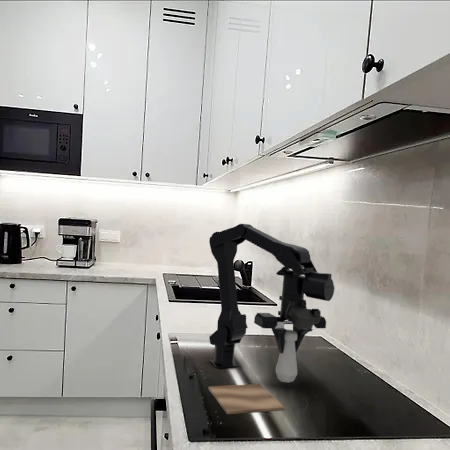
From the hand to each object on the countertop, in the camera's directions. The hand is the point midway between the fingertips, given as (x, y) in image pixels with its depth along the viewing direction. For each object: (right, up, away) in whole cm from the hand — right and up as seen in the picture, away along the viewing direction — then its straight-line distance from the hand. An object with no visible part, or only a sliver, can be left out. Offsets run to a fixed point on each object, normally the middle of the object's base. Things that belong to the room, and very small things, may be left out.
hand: (287, 353), depth 111 cm
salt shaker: (-1, -7, 0) cm, 7 cm away
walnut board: (-12, -8, -10) cm, 18 cm away
